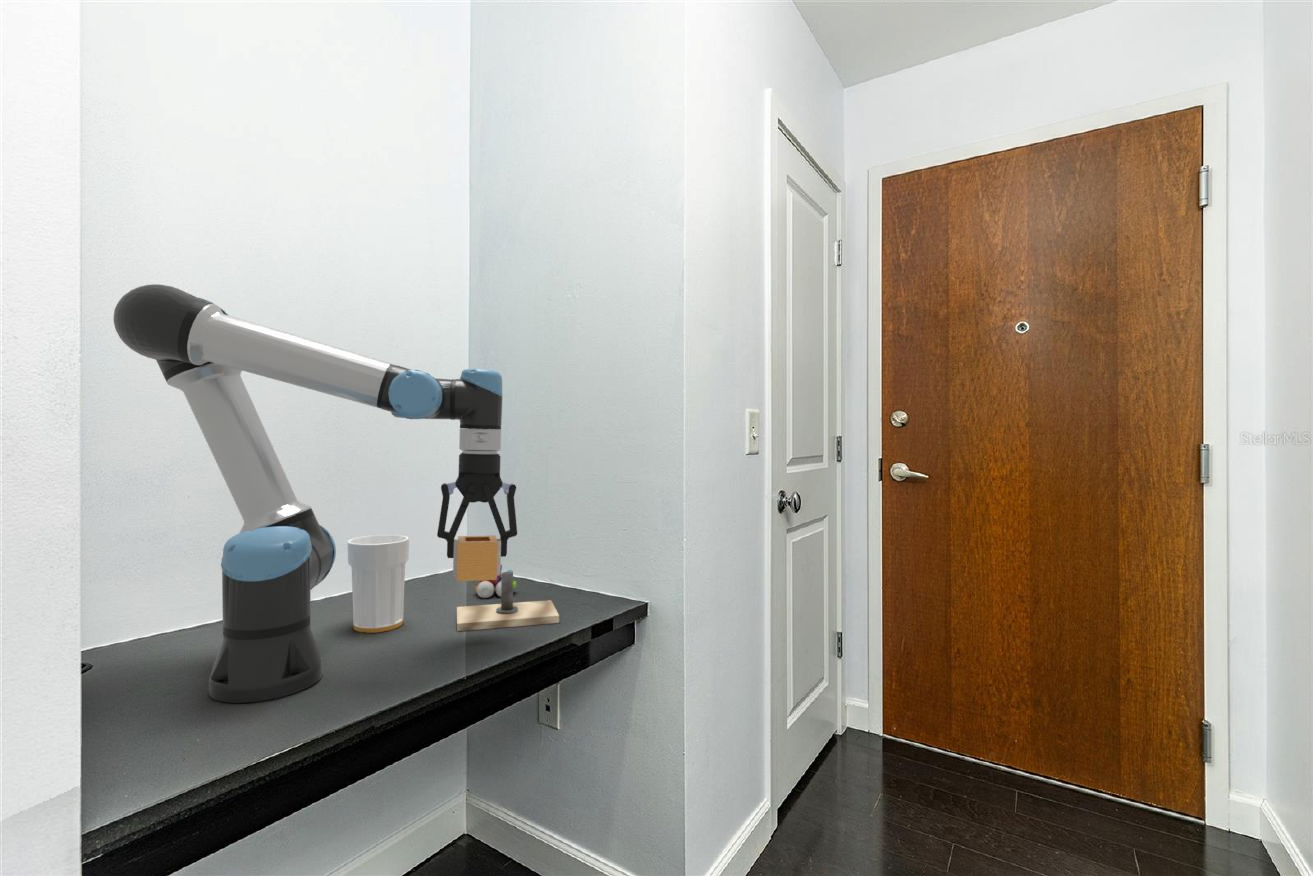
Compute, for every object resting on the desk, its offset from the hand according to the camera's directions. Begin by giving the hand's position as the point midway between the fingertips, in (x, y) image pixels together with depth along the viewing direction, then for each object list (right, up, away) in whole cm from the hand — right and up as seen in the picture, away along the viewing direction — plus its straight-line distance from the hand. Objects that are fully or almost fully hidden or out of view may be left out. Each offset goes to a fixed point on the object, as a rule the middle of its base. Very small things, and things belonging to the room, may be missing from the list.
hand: (476, 574), depth 120 cm
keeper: (+3, -12, +14) cm, 18 cm away
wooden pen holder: (0, 0, 0) cm, 0 cm away
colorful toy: (-5, -12, +33) cm, 35 cm away
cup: (-22, -12, +8) cm, 26 cm away
